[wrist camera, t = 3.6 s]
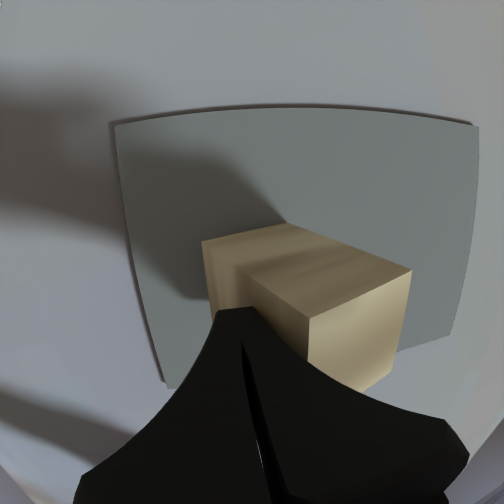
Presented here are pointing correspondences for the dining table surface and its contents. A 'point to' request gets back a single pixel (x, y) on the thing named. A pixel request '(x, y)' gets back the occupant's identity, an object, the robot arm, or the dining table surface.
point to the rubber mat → (295, 204)
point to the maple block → (314, 297)
